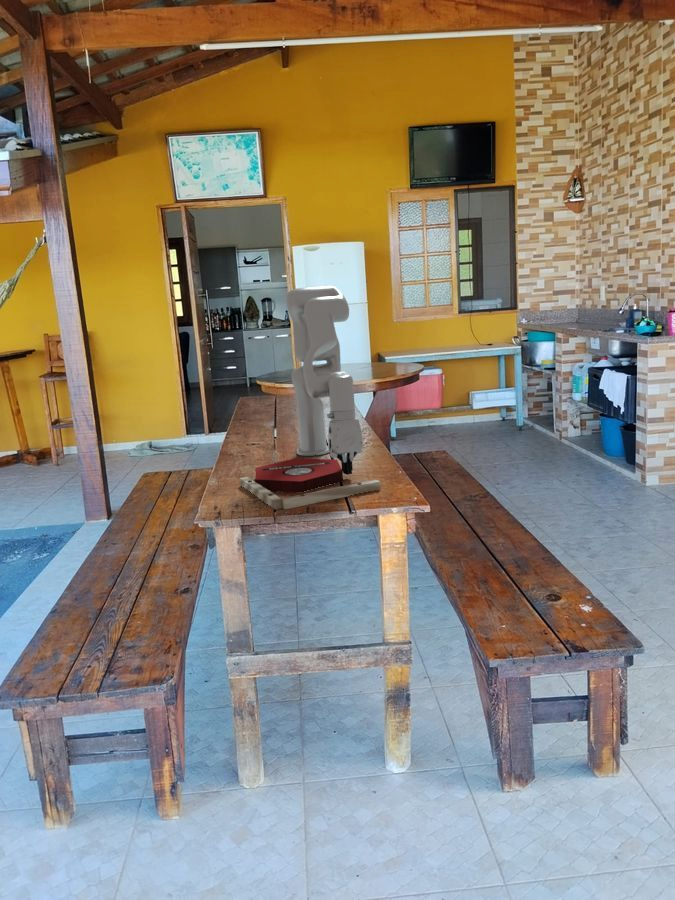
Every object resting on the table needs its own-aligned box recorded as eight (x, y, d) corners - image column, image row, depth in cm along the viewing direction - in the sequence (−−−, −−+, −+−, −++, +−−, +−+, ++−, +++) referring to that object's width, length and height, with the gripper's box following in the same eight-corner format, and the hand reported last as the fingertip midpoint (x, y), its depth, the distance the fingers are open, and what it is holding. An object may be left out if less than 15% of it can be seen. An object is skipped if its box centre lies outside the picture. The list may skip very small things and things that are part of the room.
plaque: (255, 472, 244) (257, 497, 215) (254, 462, 243) (256, 486, 214) (334, 464, 247) (346, 488, 218) (334, 454, 246) (346, 476, 217)
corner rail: (240, 486, 229) (239, 477, 228) (333, 468, 242) (333, 460, 241) (277, 511, 201) (276, 501, 200) (380, 489, 214) (379, 480, 213)
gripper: (326, 420, 217) (331, 480, 221) (370, 413, 224) (374, 471, 228) (315, 417, 224) (320, 475, 228) (358, 410, 230) (362, 467, 234)
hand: (347, 473), depth 228 cm, fingers closed
